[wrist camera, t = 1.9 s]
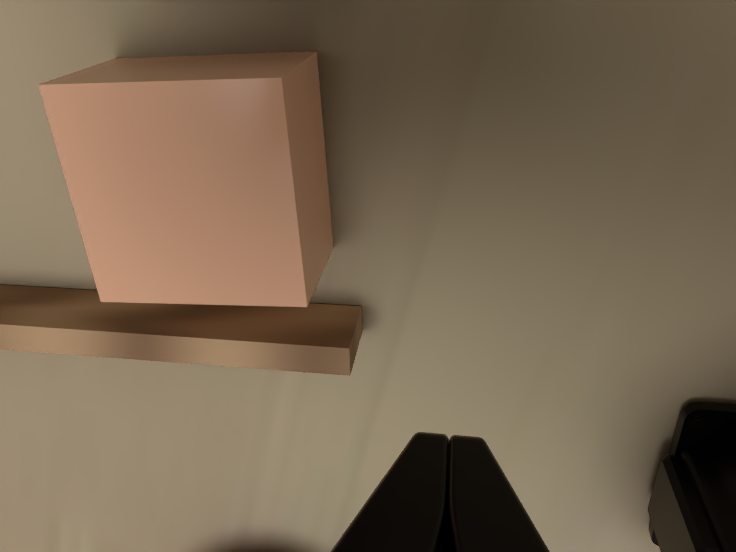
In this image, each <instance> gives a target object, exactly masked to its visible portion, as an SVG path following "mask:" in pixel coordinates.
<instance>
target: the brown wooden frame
mask: <svg viewBox="0 0 736 552" xmlns="http://www.w3.org/2000/svg"><path fill="white" fill-rule="evenodd" d="M361 334H362V306H348V305H331V304H315V303H309V304H308V307H282V306H243V305H204V304H164V303H125V302H101V301H100V298H99V294H98V291H97V290H83V289H66V288H49V287H33V286H16V285H0V349H3V350H16V351H30V352H43V353H56V354H70V355H83V356H96V357H110V358H123V359H137V360H150V361H163V362H177V363H190V364H204V365H217V366H230V367H244V368H257V369H270V370H284V371H297V372H311V373H324V374H337V375H350V374H351V371H352V367H353V363H354V360H355V356H356V352H357V349H358V345H359V341H360V338H361Z"/></svg>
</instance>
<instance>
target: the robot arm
mask: <svg viewBox="0 0 736 552" xmlns="http://www.w3.org/2000/svg"><path fill="white" fill-rule="evenodd" d="M701 415H703V417H702V418H700V419H696V420H694V418H695V417H697V416H701ZM648 512H649V515H650V519H651V521H650V525H649V533H650V536H651V540H652V541H653V543H654V544H656V545H657V546H659V547H660V551H661V552H736V404H724V403H711V402H693V403H690V404H688V405H686V406H685V407H684V408H683V409H682V411H681V413H680V417H679V420H678V424H677V428H676V431H675V435H674V438H673V442H672V446H671V449H670V453H669V455H666V456H665V457H664V458H663V459H662V460H661V461H660V465H659V469H658V473H657V476H656V480H655V484H654V487H653V491H652V495H651V498H650V502H649V506H648ZM331 552H549V550H548V548H547V546H546V545H545V543H544V541H543V540H542V538H541V536H540V534H539V533H538V531H537V529H536V528H535V526H534V524H533V522H532V521H531V519H530V517H529V516H528V514H527V512H526V510H525V509H524V507H523V505H522V504H521V502H520V500H519V498H518V497H517V495H516V493H515V492H514V490H513V488H512V486H511V485H510V483H509V481H508V480H507V478H506V476H505V474H504V473H503V471H502V469H501V468H500V466H499V464H498V462H497V461H496V459H495V457H494V456H493V454H492V452H491V450H490V449H489V447H488V445H487V444H486V442H485V441H484V440H483V439H482V438H480V437H472V436H460V435H453V436H452V437H451V438H450V440H449V439H448V437H447V436H446V435H445V434H437V433H425V432H418V433H416V434H415V435H414V436H413V437H412V438H411V440H410V441H409V443H408V444H407V445H406V447H405V448H404V450H403V451H402V452H401V454H400V455H399V457H398V458H397V459H396V461H395V462H394V464H393V465H392V466H391V468H390V469H389V471H388V472H387V473H386V475H385V476H384V478H383V479H382V480H381V482H380V483H379V485H378V486H377V487H376V489H375V490H374V492H373V493H372V494H371V496H370V497H369V499H368V500H367V502H366V503H365V504H364V506H363V507H362V509H361V510H360V511H359V513H358V514H357V516H356V517H355V518H354V520H353V521H352V523H351V524H350V525H349V527H348V528H347V530H346V531H345V532H344V534H343V535H342V537H341V538H340V539H339V541H338V542H337V544H336V545H335V546H334V548H333V549H332V551H331Z"/></svg>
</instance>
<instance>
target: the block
mask: <svg viewBox="0 0 736 552" xmlns="http://www.w3.org/2000/svg"><path fill="white" fill-rule="evenodd" d="M39 89H40V92H41V96H42V99H43V103H44V106H45V110H46V113H47V117H48V120H49V124H50V127H51V131H52V134H53V138H54V141H55V145H56V148H57V152H58V155H59V158H60V162H61V165H62V169H63V172H64V176H65V179H66V183H67V186H68V190H69V193H70V197H71V200H72V204H73V207H74V211H75V214H76V218H77V221H78V225H79V228H80V232H81V235H82V239H83V242H84V246H85V249H86V252H87V256H88V259H89V263H90V266H91V270H92V273H93V277H94V280H95V284H96V287H97V291H98V294H99V298H100V301H101V302H125V303H164V304H204V305H243V306H282V307H308V304H309V302H310V300H311V298H312V295H313V293H314V291H315V288H316V286H317V284H318V281H319V279H320V277H321V275H322V272H323V270H324V268H325V265H326V263H327V261H328V258H329V256H330V254H331V252H332V249H333V235H332V223H331V212H330V200H329V189H328V177H327V165H326V154H325V142H324V130H323V119H322V107H321V95H320V84H319V72H318V61H317V51H308V52H280V53H251V54H223V55H194V56H166V57H137V58H115V59H112V60H109V61H106V62H103V63H101V64H98V65H95V66H92V67H89V68H86V69H83V70H80V71H77V72H74V73H71V74H68V75H65V76H63V77H60V78H57V79H54V80H51V81H48V82H45V83H42V84H39Z"/></svg>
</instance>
